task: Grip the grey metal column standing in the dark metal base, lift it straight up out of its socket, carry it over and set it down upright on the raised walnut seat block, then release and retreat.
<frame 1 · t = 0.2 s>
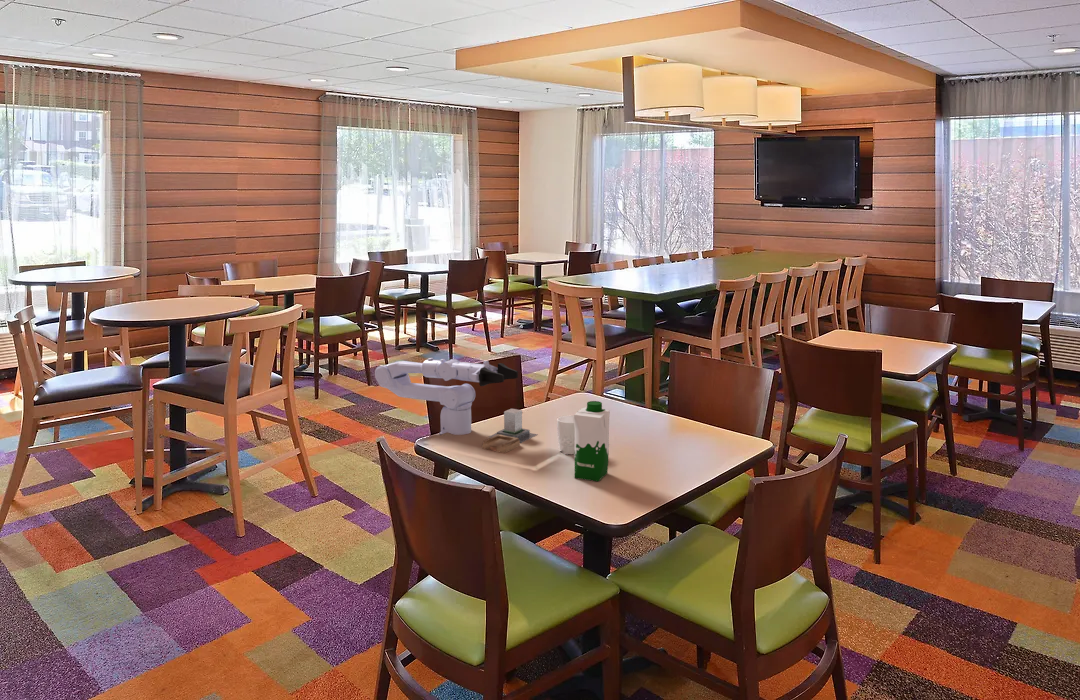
hand: (510, 376, 237), 21 cm above the table, tool horizontal, fingers open, 7 cm apart
milk carton: (590, 476, 214), on the table
column: (513, 435, 246), point 1 cm above the table, touching stand base
white cup: (570, 451, 234), on the table
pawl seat: (501, 450, 235), on the table
stand base: (513, 438, 246), on the table
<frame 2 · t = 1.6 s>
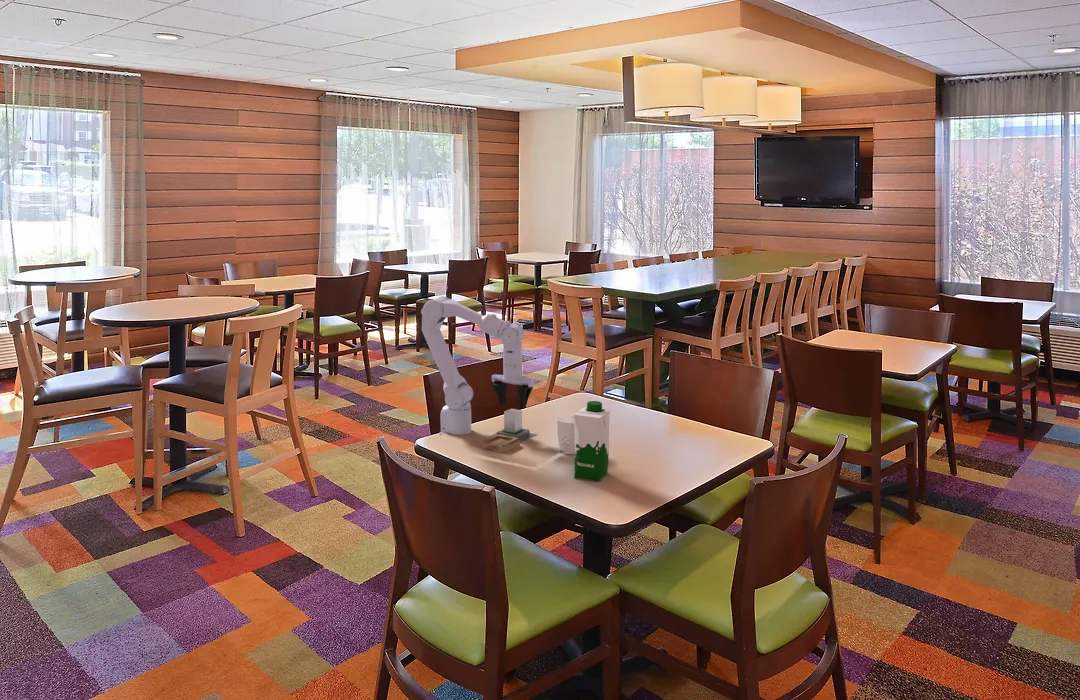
hand: (513, 406, 244), 10 cm above the table, tool pointing down, fingers open, 7 cm apart
nothing on the table moved.
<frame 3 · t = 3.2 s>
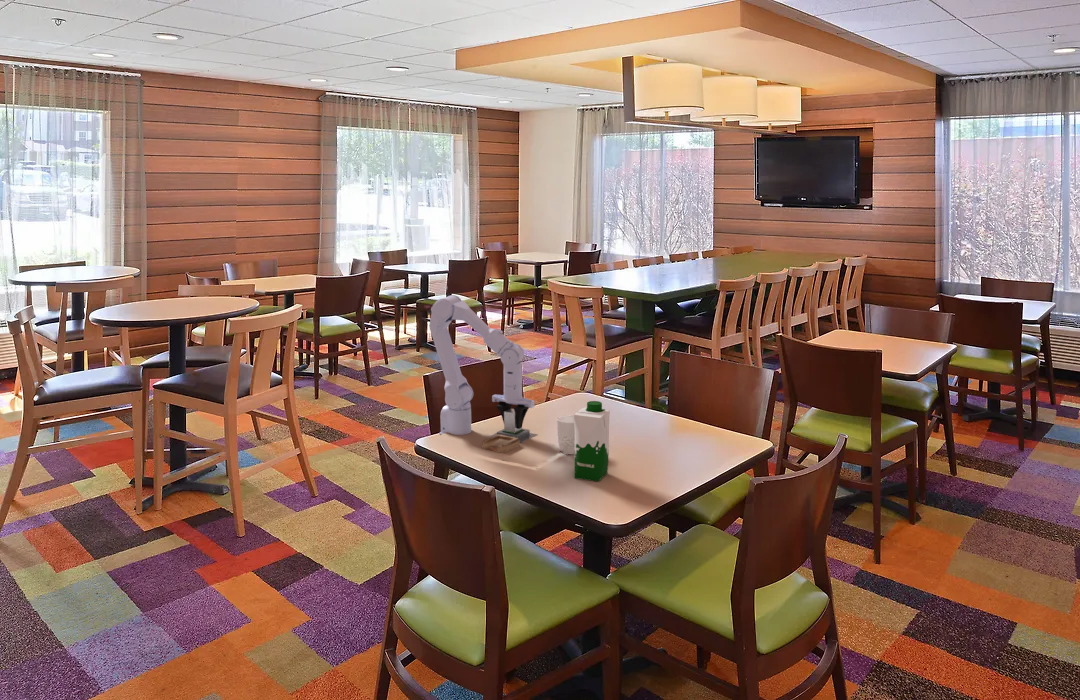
hand: (513, 426, 245), 4 cm above the table, tool pointing down, fingers closed on column, 4 cm apart
column: (513, 435, 246), point 1 cm above the table, touching gripper, stand base
everything else where it was.
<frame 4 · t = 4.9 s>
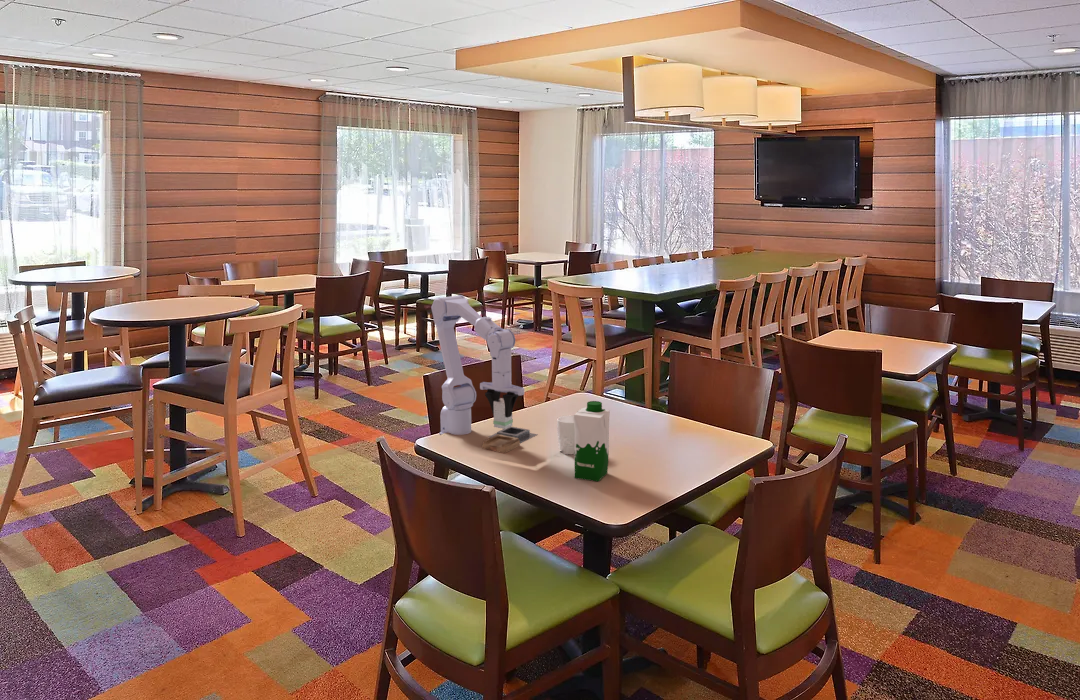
hand: (502, 415, 234), 10 cm above the table, tool pointing down, fingers closed on column, 4 cm apart
column: (503, 426, 235), point 7 cm above the table, touching gripper
everything else where it was.
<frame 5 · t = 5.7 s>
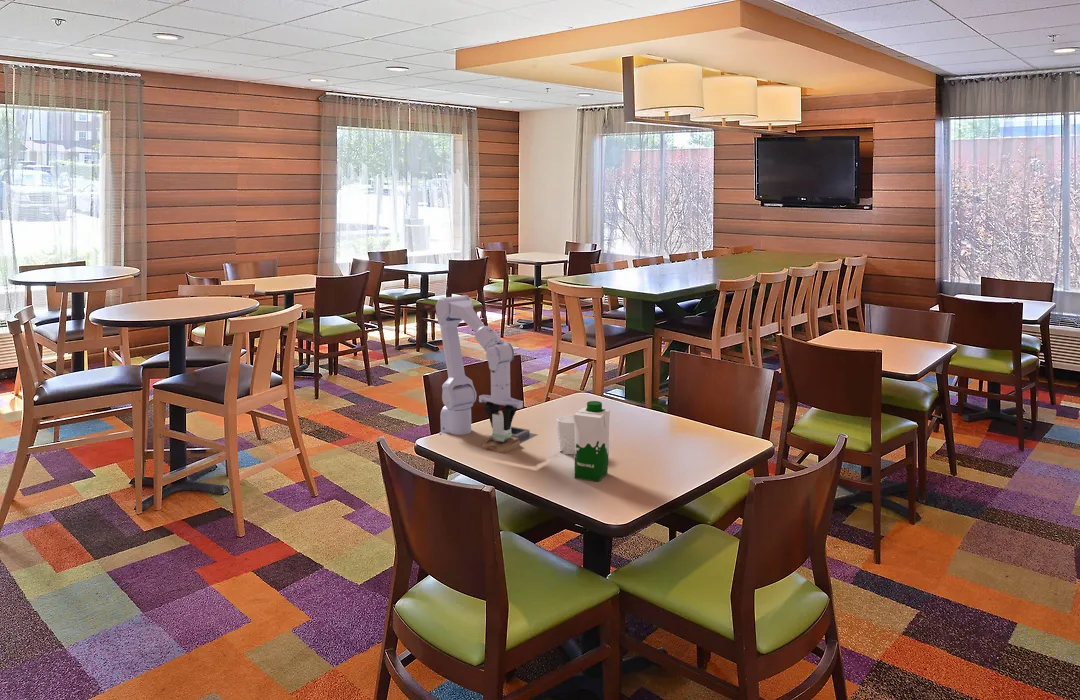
hand: (501, 428, 234), 7 cm above the table, tool pointing down, fingers closed on column, 4 cm apart
column: (502, 439, 235), point 3 cm above the table, touching gripper
everything else where it was.
when the fingers open (7 cm above the table, at t = 6.5 s): column stays where it is, resting on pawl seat.
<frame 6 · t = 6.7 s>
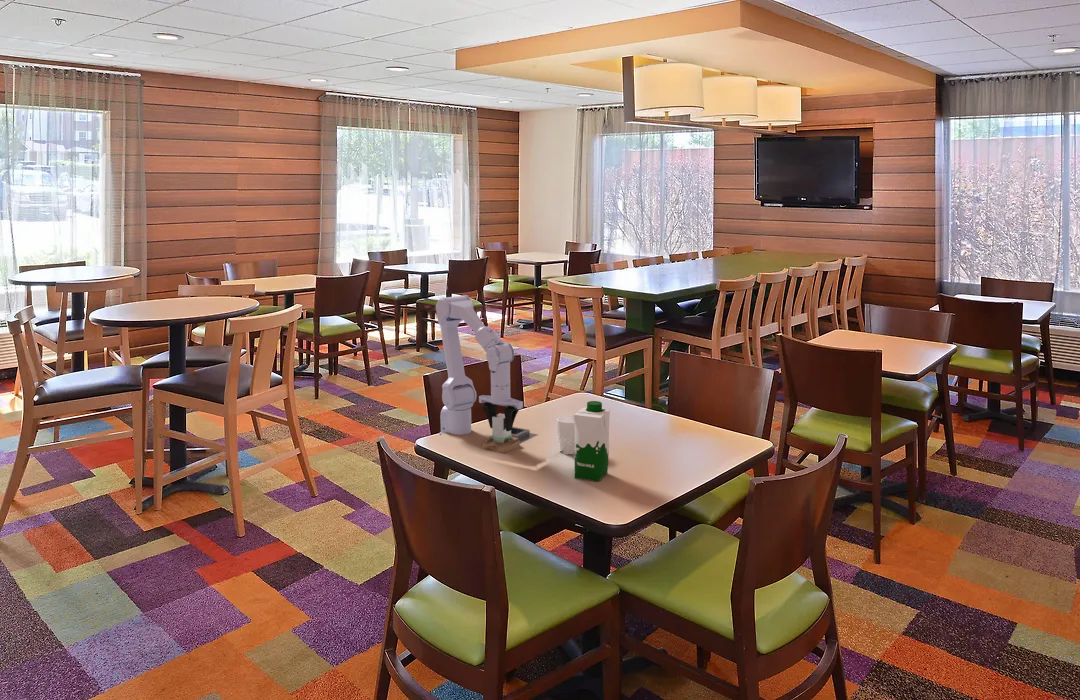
hand: (501, 428, 234), 7 cm above the table, tool pointing down, fingers open, 5 cm apart
column: (501, 441, 235), point 3 cm above the table, touching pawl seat
everything else where it was.
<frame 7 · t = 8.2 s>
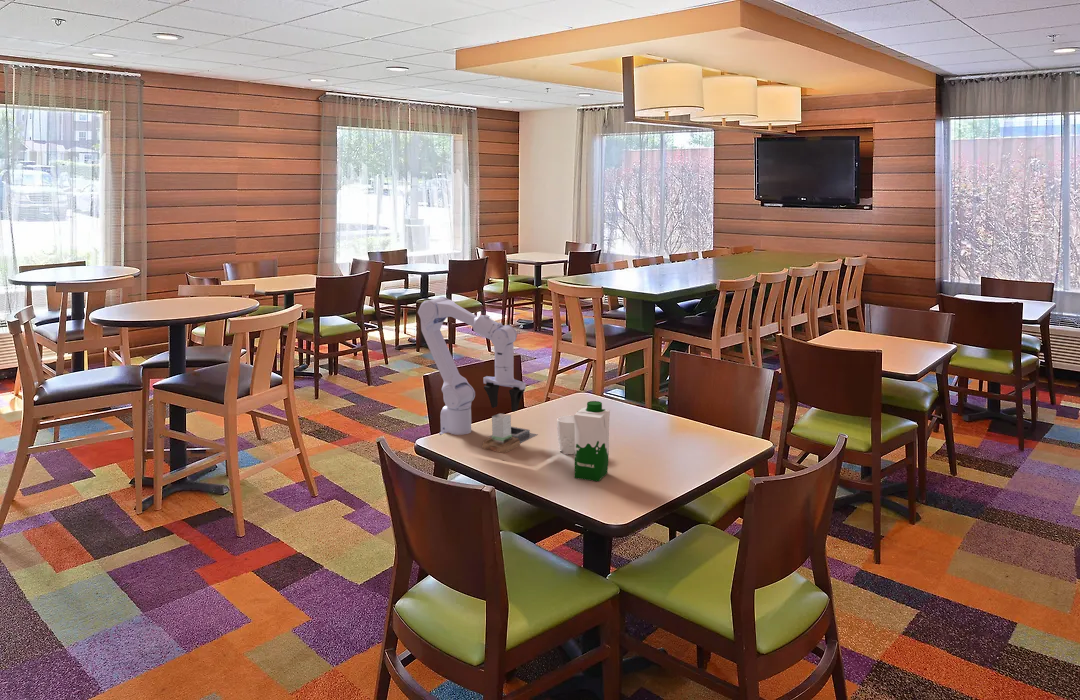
hand: (504, 409, 242), 10 cm above the table, tool pointing down, fingers open, 7 cm apart
nothing on the table moved.
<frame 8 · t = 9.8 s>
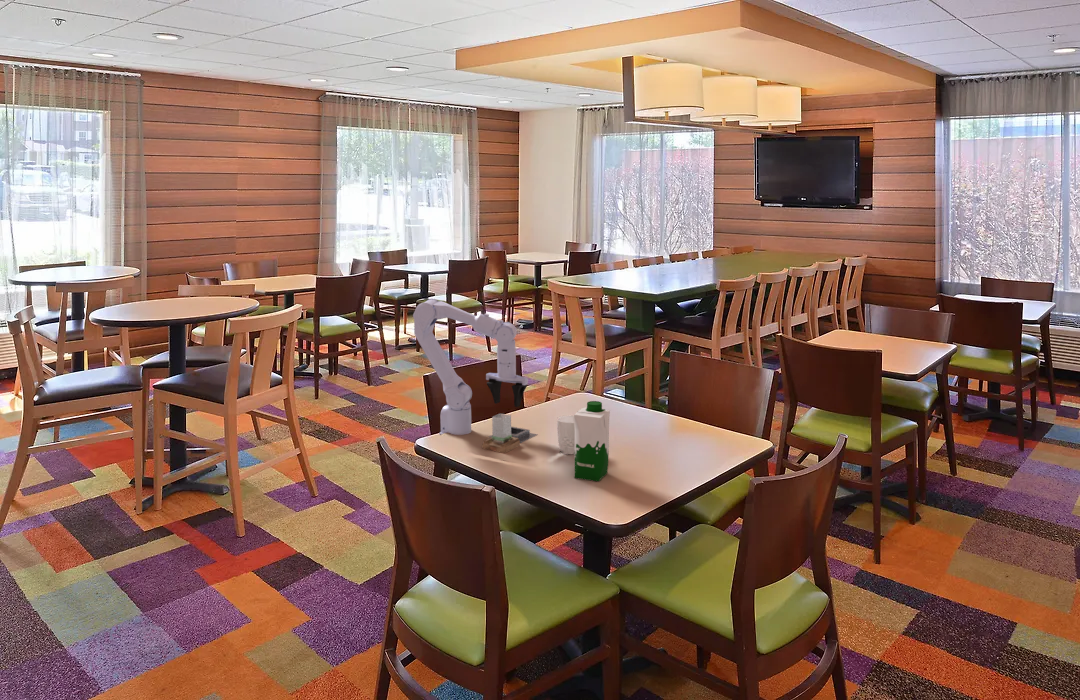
hand: (507, 404, 246), 10 cm above the table, tool pointing down, fingers open, 7 cm apart
nothing on the table moved.
at the end: column 0.4 cm off-centre on the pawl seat, point 2.5 cm above the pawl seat's base; column tilted 0°; the gripper is holding nothing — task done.
